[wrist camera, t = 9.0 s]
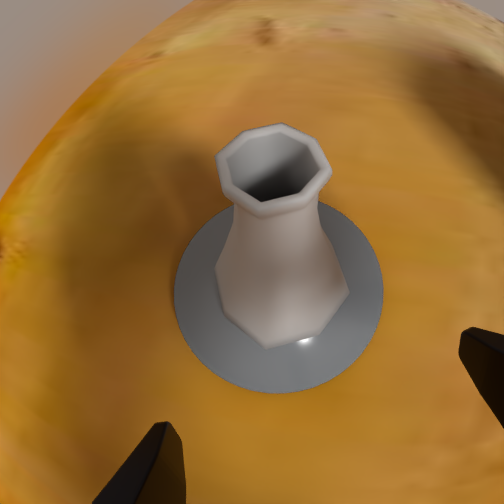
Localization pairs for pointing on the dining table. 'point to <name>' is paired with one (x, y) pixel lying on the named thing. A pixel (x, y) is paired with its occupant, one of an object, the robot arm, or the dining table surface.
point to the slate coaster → (293, 354)
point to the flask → (277, 237)
